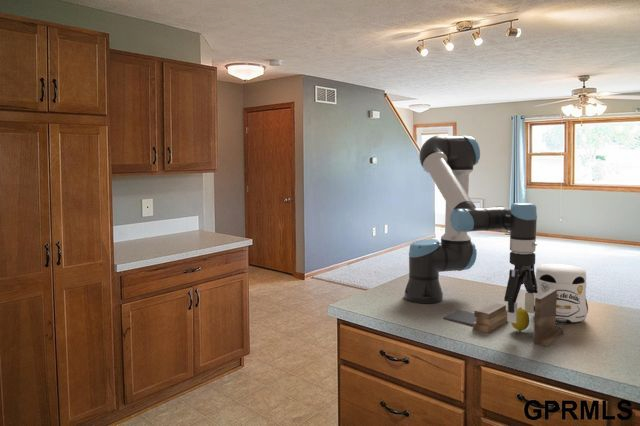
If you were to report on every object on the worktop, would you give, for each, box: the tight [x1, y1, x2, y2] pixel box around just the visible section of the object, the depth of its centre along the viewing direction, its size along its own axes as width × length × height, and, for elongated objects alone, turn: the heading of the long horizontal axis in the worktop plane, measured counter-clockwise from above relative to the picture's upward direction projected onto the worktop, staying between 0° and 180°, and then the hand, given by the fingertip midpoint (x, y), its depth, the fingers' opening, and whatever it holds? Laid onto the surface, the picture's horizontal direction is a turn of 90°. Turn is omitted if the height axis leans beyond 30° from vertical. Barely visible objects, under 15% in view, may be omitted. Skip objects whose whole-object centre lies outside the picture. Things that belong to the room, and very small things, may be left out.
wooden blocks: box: [472, 289, 565, 348], centre depth 153 cm, size 23×16×14 cm
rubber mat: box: [442, 309, 476, 327], centre depth 166 cm, size 11×11×1 cm
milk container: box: [533, 263, 589, 325], centre depth 163 cm, size 17×17×18 cm
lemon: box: [510, 307, 530, 332], centre depth 153 cm, size 6×6×8 cm
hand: (520, 317), depth 152 cm, fingers open, 13 cm apart
